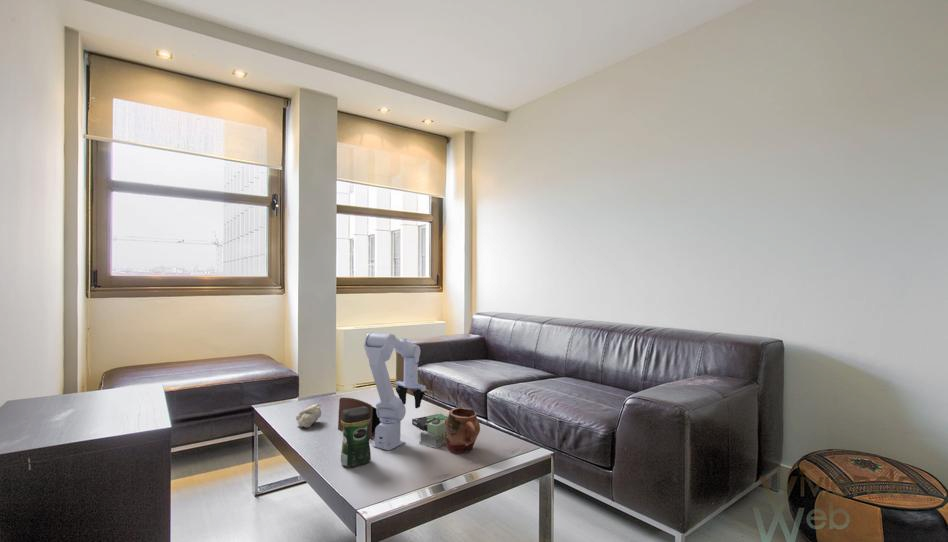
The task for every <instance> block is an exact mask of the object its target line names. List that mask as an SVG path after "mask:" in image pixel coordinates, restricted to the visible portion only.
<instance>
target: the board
mask: <svg viewBox="0 0 948 542" xmlns="http://www.w3.org/2000/svg"><path fill="white" fill-rule="evenodd" d="M445 432H447V431H446V426H445V420H441V419H439V418H438V419H437V420H435V421H433V422H431V423H428V429H427V430H426V433H430V434H434V435H438V436H439V435H441V434H443V433H445Z"/></svg>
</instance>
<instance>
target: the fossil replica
mask: <svg viewBox="0 0 948 542" xmlns="http://www.w3.org/2000/svg"><path fill="white" fill-rule="evenodd" d="M321 416H322V410H321V405H320V404H319V403H316V404H315V403H314V404H313V405H309V406H308V407H306V408H304V409H302V410H301V411H299V413H298V414H297V415H296V416H295V420H296V421H297V424H298V426H299V427H300V428H306V429H308V428H310V427H311V426H312V425H314V424H315V423H316V422H317V421H318V420H319V418H321Z"/></svg>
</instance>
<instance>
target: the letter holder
mask: <svg viewBox="0 0 948 542" xmlns="http://www.w3.org/2000/svg"><path fill="white" fill-rule="evenodd" d="M338 400H339V403H338V421H337V429H338V430H339V429H340V430H339V431H342V430H343V426H342V423H341V417H342V411H343V410H346V409H352V408H357V407H362V406H365V407H367V408H368V409H369V411H370V418H371V420H370V423H369V440H370V439H371V440H373V439H375V429H376V427H377V426H378V425H379V424H380V423H381V421H380V418H378V416H377V413H376V410H377V409H376V406H375V407H374V406H373V405H371V404H370V403H368V402H366V401H363V400H360V399H357V398H353V397H340V398H339V399H338Z"/></svg>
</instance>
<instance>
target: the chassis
mask: <svg viewBox="0 0 948 542" xmlns="http://www.w3.org/2000/svg"><path fill="white" fill-rule="evenodd" d="M446 439H447V432H445V433H443V434H441V435H439V436H438V435H434V434H430V433H427V431H420V441H418V444H419V445H421V446H426V447H431V448H433V447H434V449H437V448H439V447H440V445H441V446H443V445H445V444H446ZM444 443H445V444H444ZM442 444H443V445H442Z"/></svg>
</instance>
